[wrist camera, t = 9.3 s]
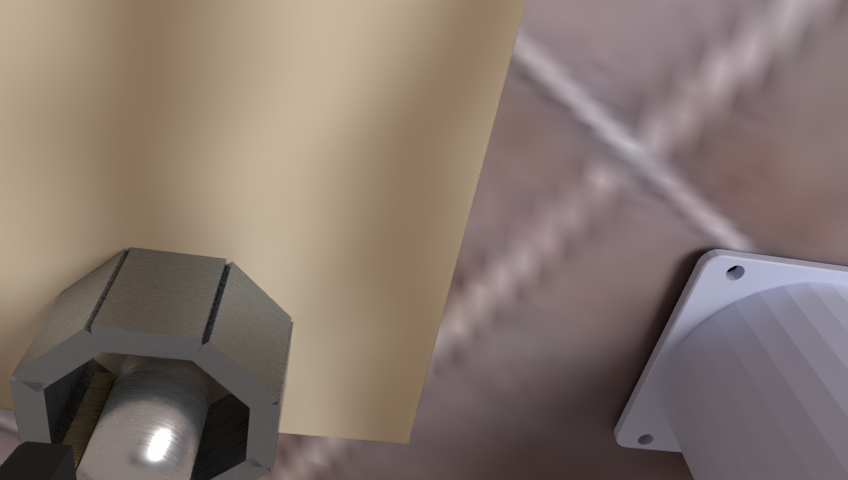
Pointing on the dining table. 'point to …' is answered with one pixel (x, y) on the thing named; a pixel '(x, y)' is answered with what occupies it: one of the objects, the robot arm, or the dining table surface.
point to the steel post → (141, 421)
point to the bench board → (256, 170)
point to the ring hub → (165, 351)
